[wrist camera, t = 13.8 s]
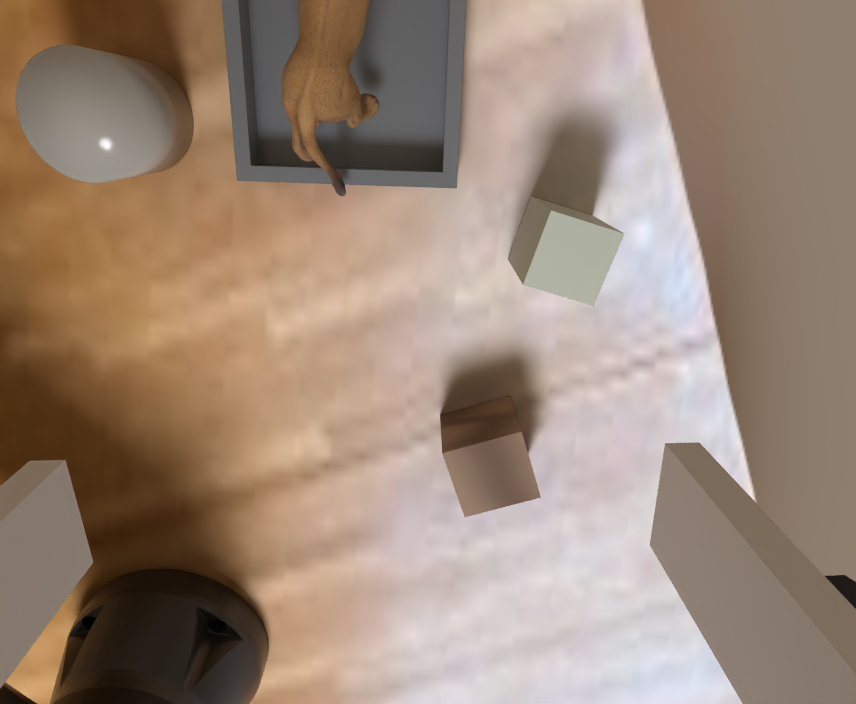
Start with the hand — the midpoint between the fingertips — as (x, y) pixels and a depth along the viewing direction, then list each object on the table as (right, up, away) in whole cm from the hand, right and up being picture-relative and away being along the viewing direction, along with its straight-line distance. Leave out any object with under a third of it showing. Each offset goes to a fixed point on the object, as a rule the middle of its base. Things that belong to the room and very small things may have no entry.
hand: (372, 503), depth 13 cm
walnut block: (+5, -2, +28) cm, 28 cm away
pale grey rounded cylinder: (-15, +17, +20) cm, 30 cm away
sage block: (+9, +10, +22) cm, 26 cm away
